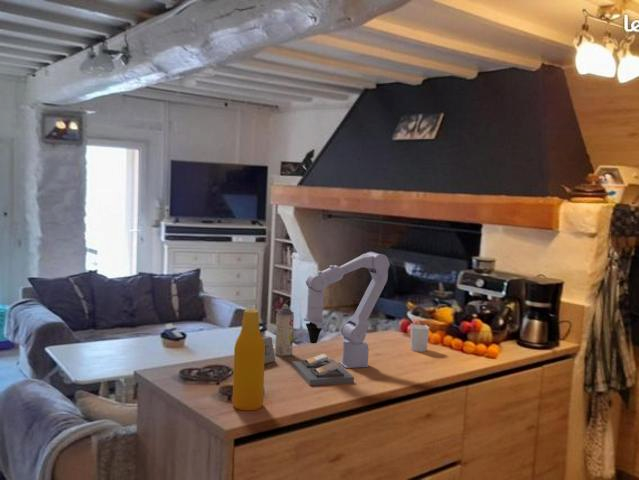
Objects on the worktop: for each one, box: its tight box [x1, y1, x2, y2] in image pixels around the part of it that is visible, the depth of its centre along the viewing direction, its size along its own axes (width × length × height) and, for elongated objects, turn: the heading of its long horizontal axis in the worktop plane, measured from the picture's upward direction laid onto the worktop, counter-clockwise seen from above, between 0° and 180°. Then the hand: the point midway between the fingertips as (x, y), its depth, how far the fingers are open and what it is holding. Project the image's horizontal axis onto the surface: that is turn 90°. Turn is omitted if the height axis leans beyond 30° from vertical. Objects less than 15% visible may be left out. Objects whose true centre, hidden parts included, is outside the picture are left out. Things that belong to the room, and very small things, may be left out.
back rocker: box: [306, 353, 329, 365], centre depth 219 cm, size 7×4×2 cm, turn 108°
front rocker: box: [316, 361, 338, 375], centre depth 208 cm, size 7×4×2 cm, turn 108°
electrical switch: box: [262, 336, 276, 365], centre depth 225 cm, size 9×5×9 cm, turn 141°
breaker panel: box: [291, 358, 355, 386], centre depth 214 cm, size 16×22×4 cm
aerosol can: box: [274, 304, 295, 358], centre depth 236 cm, size 7×7×20 cm
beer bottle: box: [231, 309, 265, 411], centre depth 179 cm, size 9×9×29 cm
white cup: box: [410, 324, 430, 353], centre depth 253 cm, size 8×8×10 cm
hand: (313, 342), depth 220 cm, fingers closed
